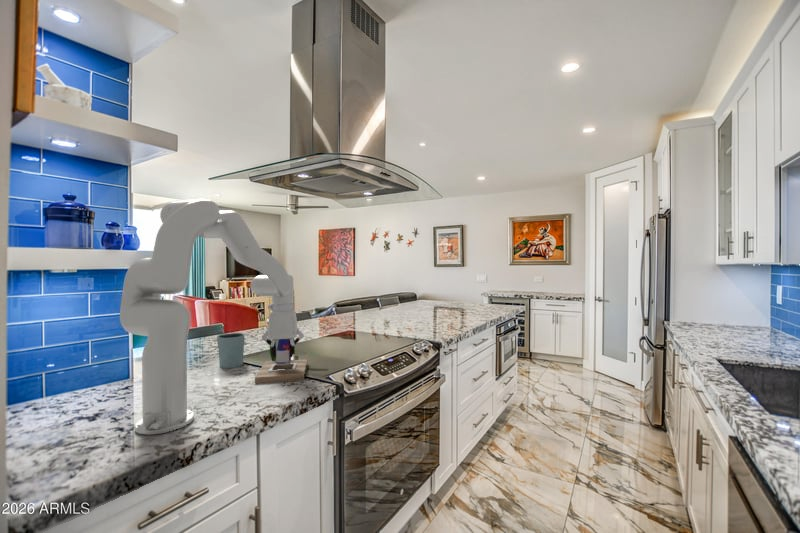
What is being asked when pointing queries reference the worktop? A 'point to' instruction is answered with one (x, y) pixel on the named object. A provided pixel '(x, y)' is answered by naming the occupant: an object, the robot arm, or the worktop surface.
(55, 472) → the worktop surface
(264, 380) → the slotted board
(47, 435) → the worktop surface
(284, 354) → the energy drink
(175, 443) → the worktop surface
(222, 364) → the grey teal cup
